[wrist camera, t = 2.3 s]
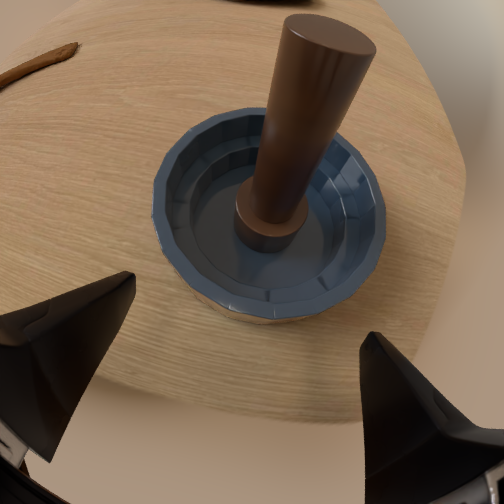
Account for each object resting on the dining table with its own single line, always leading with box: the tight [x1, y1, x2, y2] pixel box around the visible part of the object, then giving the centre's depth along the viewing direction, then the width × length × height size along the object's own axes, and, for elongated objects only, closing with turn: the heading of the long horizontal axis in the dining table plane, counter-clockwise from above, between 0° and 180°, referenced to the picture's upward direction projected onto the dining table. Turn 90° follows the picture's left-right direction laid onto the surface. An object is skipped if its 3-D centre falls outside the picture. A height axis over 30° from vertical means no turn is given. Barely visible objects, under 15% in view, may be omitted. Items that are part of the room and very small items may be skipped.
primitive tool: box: [0, 42, 78, 87], centre depth 23 cm, size 19×6×4 cm, turn 105°
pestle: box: [234, 14, 376, 253], centre depth 12 cm, size 4×4×14 cm
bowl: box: [151, 108, 386, 325], centre depth 17 cm, size 14×14×5 cm
